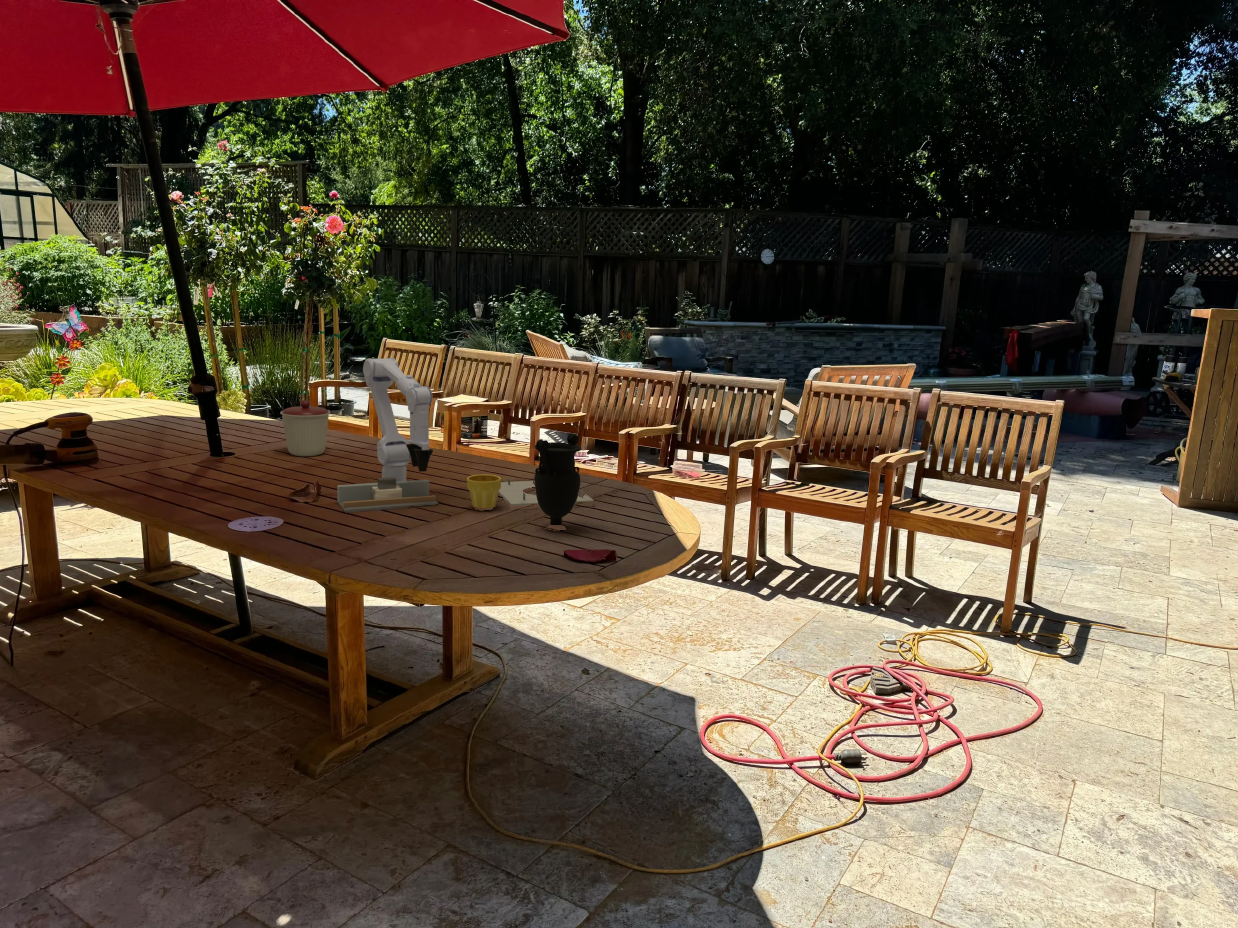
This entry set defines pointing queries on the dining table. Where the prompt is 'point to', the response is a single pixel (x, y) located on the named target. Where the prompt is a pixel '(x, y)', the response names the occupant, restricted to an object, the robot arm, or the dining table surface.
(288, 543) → the dining table surface
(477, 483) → the plant pot
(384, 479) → the cabinet block
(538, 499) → the urn
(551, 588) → the dining table surface
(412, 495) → the wall board
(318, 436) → the canister
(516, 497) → the mounting panel
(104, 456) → the dining table surface
